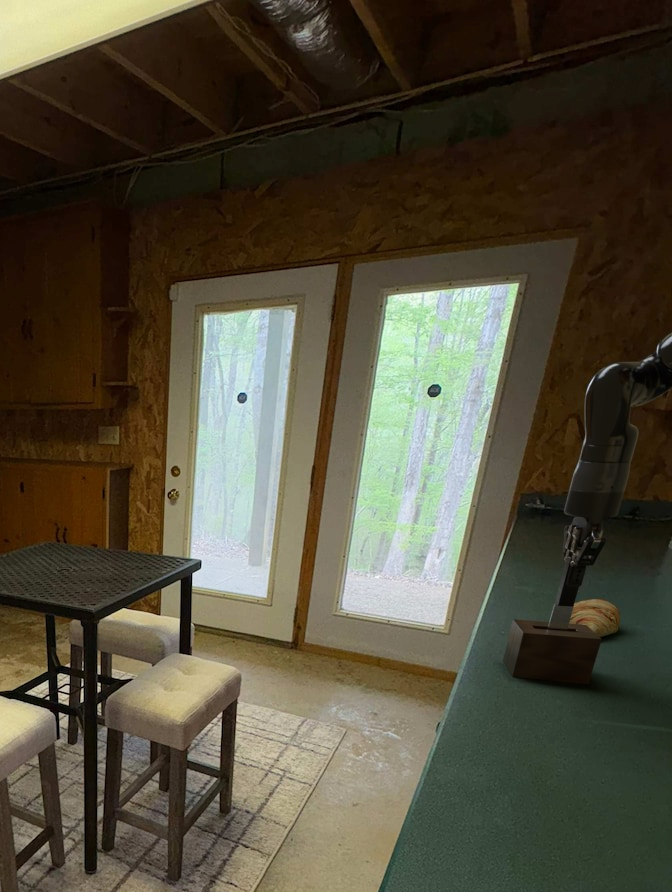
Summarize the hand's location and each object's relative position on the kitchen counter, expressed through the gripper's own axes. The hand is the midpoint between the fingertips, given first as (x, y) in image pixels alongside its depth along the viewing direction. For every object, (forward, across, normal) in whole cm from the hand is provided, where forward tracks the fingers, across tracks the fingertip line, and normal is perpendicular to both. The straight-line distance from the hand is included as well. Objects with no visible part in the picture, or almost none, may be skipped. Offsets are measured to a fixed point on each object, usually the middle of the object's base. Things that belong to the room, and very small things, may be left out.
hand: (570, 583), depth 115 cm
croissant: (+18, +32, -16) cm, 40 cm away
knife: (+15, 0, 0) cm, 15 cm away
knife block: (+18, 0, 0) cm, 18 cm away
